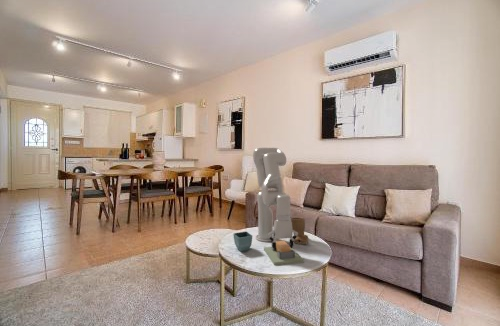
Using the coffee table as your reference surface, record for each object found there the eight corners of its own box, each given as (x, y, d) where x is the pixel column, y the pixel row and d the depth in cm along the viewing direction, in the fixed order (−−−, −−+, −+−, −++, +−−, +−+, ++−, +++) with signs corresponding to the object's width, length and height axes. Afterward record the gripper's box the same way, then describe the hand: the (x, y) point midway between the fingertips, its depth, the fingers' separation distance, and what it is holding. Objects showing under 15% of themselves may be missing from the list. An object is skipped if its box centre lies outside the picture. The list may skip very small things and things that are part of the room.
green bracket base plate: (263, 249, 146) (263, 242, 146) (289, 247, 150) (289, 240, 150) (274, 265, 127) (274, 256, 127) (303, 262, 130) (303, 253, 130)
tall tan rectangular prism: (275, 249, 143) (275, 241, 142) (283, 249, 144) (284, 240, 143) (281, 257, 133) (281, 247, 133) (290, 256, 134) (290, 247, 134)
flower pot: (238, 253, 141) (238, 237, 141) (232, 248, 149) (233, 233, 149) (252, 251, 145) (252, 235, 144) (246, 245, 153) (246, 231, 152)
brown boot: (290, 236, 171) (291, 214, 170) (308, 237, 167) (309, 215, 167) (287, 244, 156) (288, 220, 155) (307, 246, 153) (307, 221, 152)
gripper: (295, 214, 143) (294, 244, 144) (266, 216, 139) (265, 246, 140) (300, 218, 135) (300, 249, 136) (269, 220, 132) (269, 252, 133)
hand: (282, 248), depth 138 cm, fingers open, 9 cm apart
